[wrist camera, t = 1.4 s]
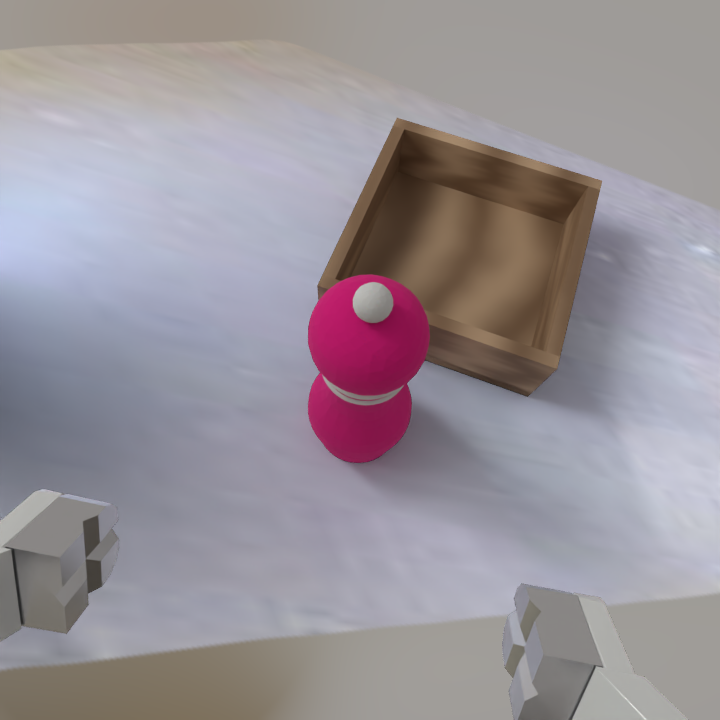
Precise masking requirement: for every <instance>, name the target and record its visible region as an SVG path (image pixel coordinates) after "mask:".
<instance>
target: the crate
mask: <svg viewBox="0 0 720 720" xmlns="http://www.w3.org/2000/svg"><path fill="white" fill-rule="evenodd" d="M601 184H602V181H601V180H598V179H594V178H591V177H588V176H585V175H581V174H578V173H575V172H572V171H568V170H565V169H562V168H559V167H555V166H552V165H549V164H546V163H542V162H539V161H536V160H533V159H529V158H526V157H523V156H520V155H516V154H513V153H510V152H507V151H503V150H500V149H497V148H494V147H490V146H487V145H484V144H481V143H477V142H474V141H471V140H468V139H464V138H461V137H458V136H455V135H451V134H448V133H445V132H442V131H438V130H435V129H432V128H429V127H425V126H422V125H419V124H415V123H412V122H409V121H406V120H402V119H399V118H397V119H396V121H395V123H394V125H393V127H392V129H391V132H390V134H389V136H388V138H387V140H386V142H385V144H384V146H383V148H382V151H381V153H380V155H379V157H378V159H377V161H376V163H375V165H374V167H373V169H372V172H371V174H370V176H369V178H368V180H367V182H366V184H365V186H364V188H363V191H362V193H361V195H360V197H359V199H358V201H357V203H356V205H355V207H354V210H353V212H352V214H351V216H350V218H349V220H348V222H347V224H346V226H345V229H344V231H343V233H342V235H341V237H340V239H339V241H338V243H337V245H336V247H335V250H334V252H333V254H332V256H331V258H330V260H329V262H328V264H327V266H326V269H325V271H324V273H323V275H322V277H321V279H320V281H319V283H318V285H317V286H318V300H320V298H321V297H322V296H323V295H324V293H325V292H326V291H327V290H328V289H330V288H331V287H333V286H334V285H335V284H337V283H338V282H340V281H342V280H345V279H347V278H350V277H354V276H358V275H371V274H372V275H378V276H383V277H386V278H390V279H392V280H394V281H397V282H399V283H401V284H402V285H404V286H405V287H406V288H408V289H409V290H410V291H411V292H412V293H413V294H414V295H415V296H416V297H417V298H418V300H419V301H420V303H421V304H422V306H423V309H424V311H425V313H426V315H427V319H428V323H429V331H430V340H429V347H428V351H427V354H426V358H425V360H426V361H429V362H432V363H435V364H437V365H440V366H443V367H446V368H449V369H452V370H454V371H457V372H460V373H463V374H466V375H468V376H471V377H474V378H477V379H480V380H482V381H485V382H488V383H491V384H494V385H496V386H499V387H502V388H505V389H508V390H511V391H513V392H516V393H519V394H522V395H525V396H527V397H528V396H529V395H530V394H531V393H532V392H533V391H534V390H536V389H537V388H538V387H539V386H540V385H541V384H542V383H543V382H544V381H545V380H546V379H547V378H548V377H549V376H550V375H551V374H552V373H553V372H554V371H556V370H557V367H558V363H559V359H560V355H561V351H562V347H563V342H564V338H565V334H566V330H567V326H568V321H569V317H570V313H571V309H572V305H573V301H574V296H575V292H576V288H577V284H578V280H579V276H580V271H581V267H582V263H583V259H584V255H585V251H586V246H587V242H588V238H589V234H590V230H591V225H592V221H593V217H594V213H595V209H596V205H597V200H598V196H599V192H600V188H601Z"/></svg>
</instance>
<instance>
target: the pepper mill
mask: <svg viewBox="0 0 720 720" xmlns="http://www.w3.org/2000/svg"><path fill="white" fill-rule="evenodd" d="M429 340H430V331H429V323H428V319H427V315H426V313H425V311H424V309H423V306H422V304H421V303H420V301H419V300H418V298H417V297H416V296H415V295H414V294H413V293H412V292H411V291H410V290H409V289H408V288H406V287H405V286H404V285H402V284H401V283H399V282H397V281H394V280H392V279H390V278H386V277H383V276H378V275H372V274H371V275H358V276H354V277H350V278H347V279H345V280H342V281H340V282H338V283H337V284H335V285H334V286H333V287H331V288H330V289H328V290H327V291H326V292H325V293H324V295H323V296H322V297H321V298H320V300H319V301H318V303H317V305H316V306H315V308H314V310H313V312H312V315H311V318H310V322H309V327H308V345H309V348H310V352H311V355H312V358H313V361H314V363H315V365H316V366H317V368H318V370H319V371H320V373H319V375H318V376H317V377H316V379H315V381H314V383H313V385H312V388H311V391H310V394H309V401H308V415H309V420H310V423H311V426H312V428H313V430H314V432H315V434H316V435H317V437H318V438H319V439H320V440H321V442H322V443H323V444H324V446H325V447H326V448H327V450H328V451H329V452H330V453H332V454H333V455H334V456H336V457H338V458H339V459H342V460H344V461H348V462H354V463H362V462H368V461H372V460H374V459H376V458H378V457H380V456H381V455H383V454H384V453H385V452H386V451H387V450H389V449H390V448H392V447H393V446H394V445H395V444H397V442H398V441H399V440H400V439H401V438H402V436H403V435H404V433H405V431H406V429H407V427H408V424H409V421H410V416H411V406H412V402H411V394H410V391H409V387H408V385H407V383H408V382H409V381H410V380H411V379H412V378H413V377H414V376H415V375H416V374H417V372H418V370H419V369H420V367H421V365H422V364H423V362H424V361H425V358H426V354H427V351H428V347H429Z"/></svg>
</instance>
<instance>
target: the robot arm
mask: <svg viewBox="0 0 720 720" xmlns="http://www.w3.org/2000/svg"><path fill="white" fill-rule="evenodd" d="M117 521H118V512H117V507H116V506H115V505H113V504H111V503H107V502H102V501H98V500H93V499H89V498H84V497H80V496H75V495H71V494H63V493H59V492H54V491H50V490H46V489H41V490H38V491H35V492H34V493H32V494H31V495H30V496H29V497H28V498H27V499H25V500H24V501H23V502H22V503H21V504H20V505H18V506H17V507H16V508H15V509H14V510H13V511H11V512H10V513H9V514H8V515H7V516H6V517H4V518H3V519H2V520H1V521H0V642H1V641H2V640H4V639H6V638H7V637H9V636H10V635H12V634H14V633H15V632H17V631H18V630H20V629H21V628H22V627H21V626H25V627H31V628H37V629H43V630H48V631H54V632H60V633H65V634H67V633H68V631H69V630H70V629H71V627H72V626H73V625H74V623H75V622H76V621H77V619H78V618H79V617H80V615H81V614H82V613H83V611H84V610H85V609H86V607H87V606H88V593H90V592H92V591H94V590H96V589H98V588H100V587H102V586H103V584H104V583H105V582H106V580H107V579H108V577H109V576H110V574H111V572H112V570H113V567H114V565H115V563H116V561H117V556H118V551H119V538H118V537H117V535H116V534H115V532H114V531H113V530H112V527H113V526H114V525H115V524H116V523H117ZM514 601H515V606H516V610H515V611H514V612H512V613H511V614H509V615H508V617H507V621H506V624H505V627H504V633H503V643H502V644H503V645H502V646H503V659H504V666H505V669H506V670H507V671H508V672H509V674H510V675H511V676H512V678H513V680H512V683H511V686H510V688H509V695H510V701H511V706H512V712H513V718H514V720H689V719H688V718H687V717H685V716H684V715H683V714H682V713H681V712H680V711H679V710H678V709H677V708H676V707H675V706H674V705H673V704H672V703H671V702H670V701H669V700H668V699H667V698H666V697H665V696H664V695H663V694H662V693H661V692H660V691H659V690H657V688H655V686H653V685H652V684H651V683H650V682H649V681H648V680H647V679H646V678H645V677H644V676H640V675H636V674H635V672H634V670H633V667H632V665H631V663H630V660H629V658H628V656H627V653H626V651H625V649H624V646H623V644H622V642H621V639H620V637H619V635H618V633H617V630H616V628H615V626H614V623H613V621H612V619H611V616H610V614H609V611H608V609H607V607H606V604H605V602H604V601H603V600H602V599H601V598H600V597H595V596H590V595H584V594H578V593H570V592H565V591H560V590H554V589H549V588H544V587H538V586H533V585H528V584H522V583H521V584H520V586H519V587H518V588H517V591H516V594H515V597H514Z"/></svg>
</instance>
